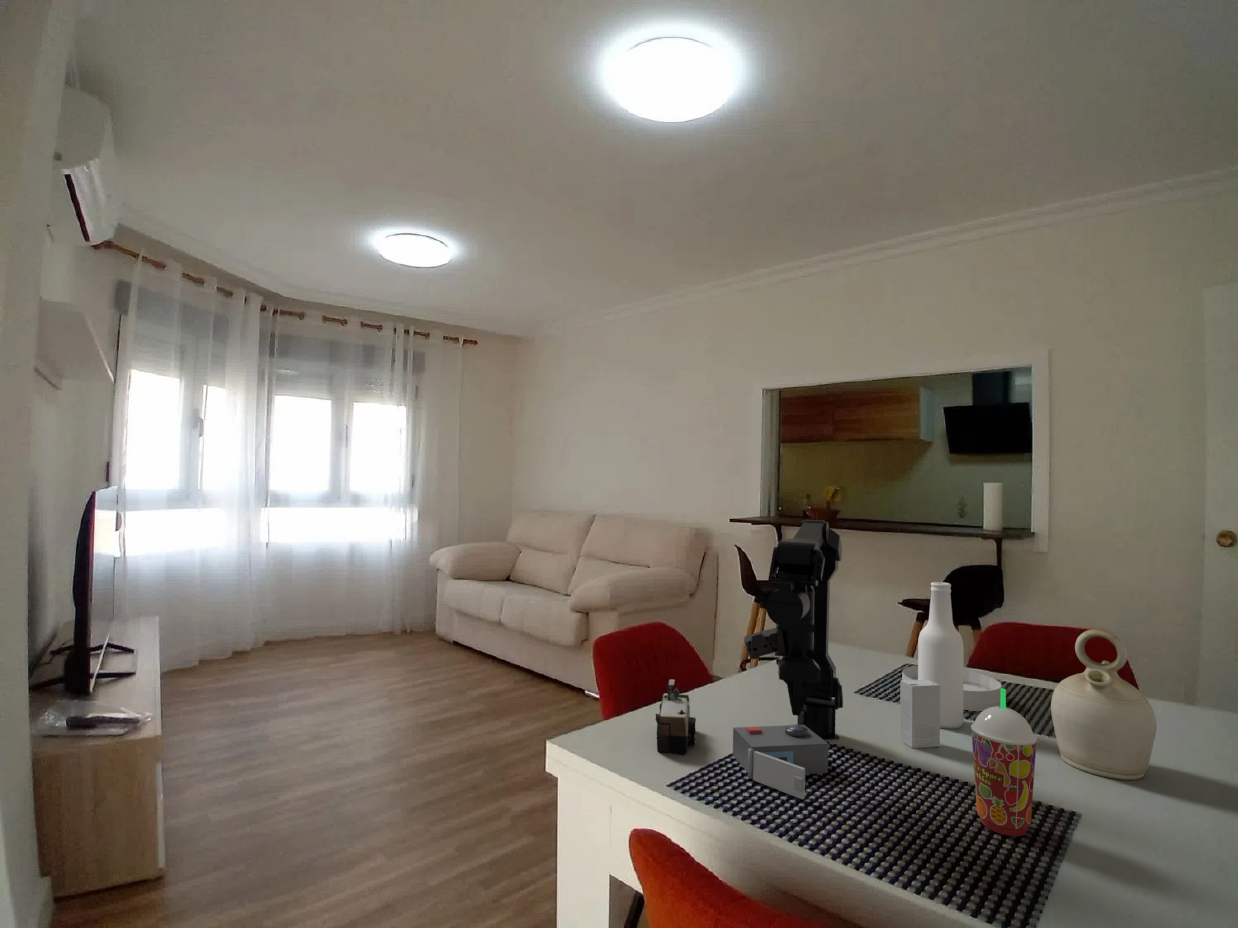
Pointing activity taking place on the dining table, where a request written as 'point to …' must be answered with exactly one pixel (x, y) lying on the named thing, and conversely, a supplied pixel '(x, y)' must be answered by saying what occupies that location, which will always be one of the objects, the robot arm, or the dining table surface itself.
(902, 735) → the skincare box
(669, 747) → the camera
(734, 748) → the grey appliance box
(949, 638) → the alcohol
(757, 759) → the side door
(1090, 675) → the jug
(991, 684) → the dish
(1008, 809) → the smoothie
